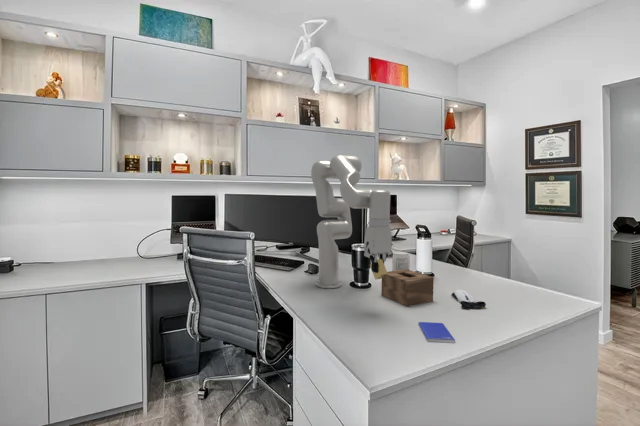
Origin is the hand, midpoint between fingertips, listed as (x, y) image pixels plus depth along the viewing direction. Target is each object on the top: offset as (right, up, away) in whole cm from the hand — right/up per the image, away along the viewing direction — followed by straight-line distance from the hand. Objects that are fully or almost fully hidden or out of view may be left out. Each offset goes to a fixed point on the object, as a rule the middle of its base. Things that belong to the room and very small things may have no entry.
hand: (377, 271), depth 120 cm
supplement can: (+18, -13, +38) cm, 45 cm away
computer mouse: (+38, -15, +11) cm, 42 cm away
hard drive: (+15, -17, -19) cm, 29 cm away
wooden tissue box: (+15, -14, +15) cm, 26 cm away
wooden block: (+1, -2, -2) cm, 3 cm away
